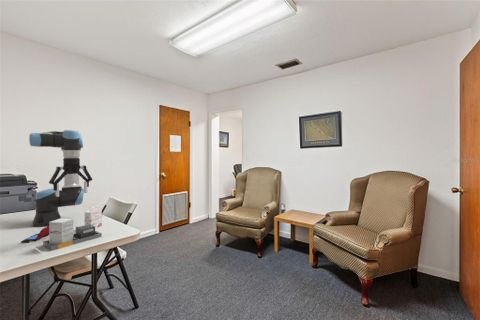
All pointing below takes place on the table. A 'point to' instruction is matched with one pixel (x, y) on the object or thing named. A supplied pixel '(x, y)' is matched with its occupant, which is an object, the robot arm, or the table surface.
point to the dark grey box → (85, 231)
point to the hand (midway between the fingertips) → (72, 194)
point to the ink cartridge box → (94, 217)
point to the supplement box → (60, 231)
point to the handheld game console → (37, 235)
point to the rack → (69, 243)
